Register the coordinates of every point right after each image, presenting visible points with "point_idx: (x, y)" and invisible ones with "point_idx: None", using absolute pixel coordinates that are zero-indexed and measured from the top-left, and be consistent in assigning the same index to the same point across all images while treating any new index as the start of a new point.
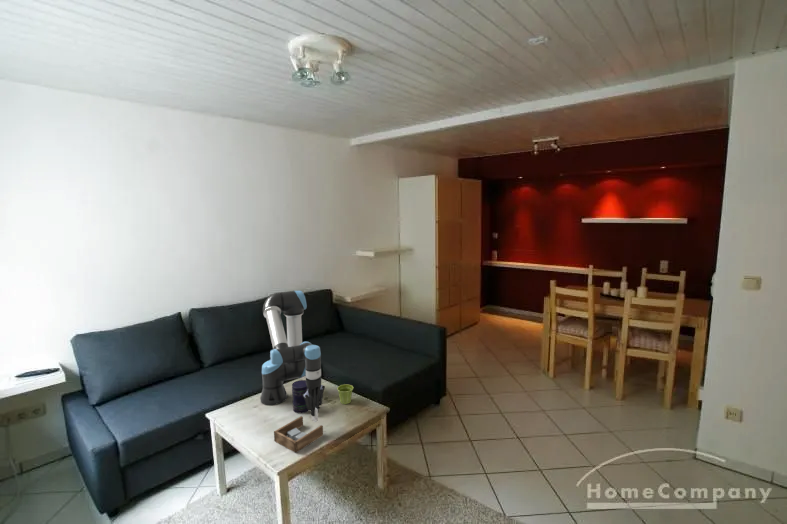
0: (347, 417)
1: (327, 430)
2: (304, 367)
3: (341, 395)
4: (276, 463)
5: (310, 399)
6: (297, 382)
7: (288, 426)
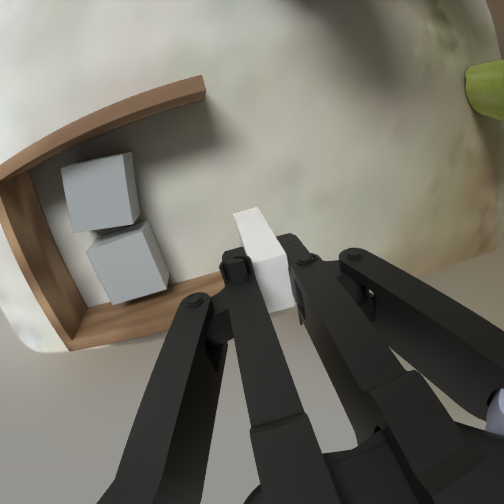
0: (423, 206)
1: None
2: None
3: (499, 94)
4: (18, 324)
5: (247, 398)
6: None
7: (71, 141)
